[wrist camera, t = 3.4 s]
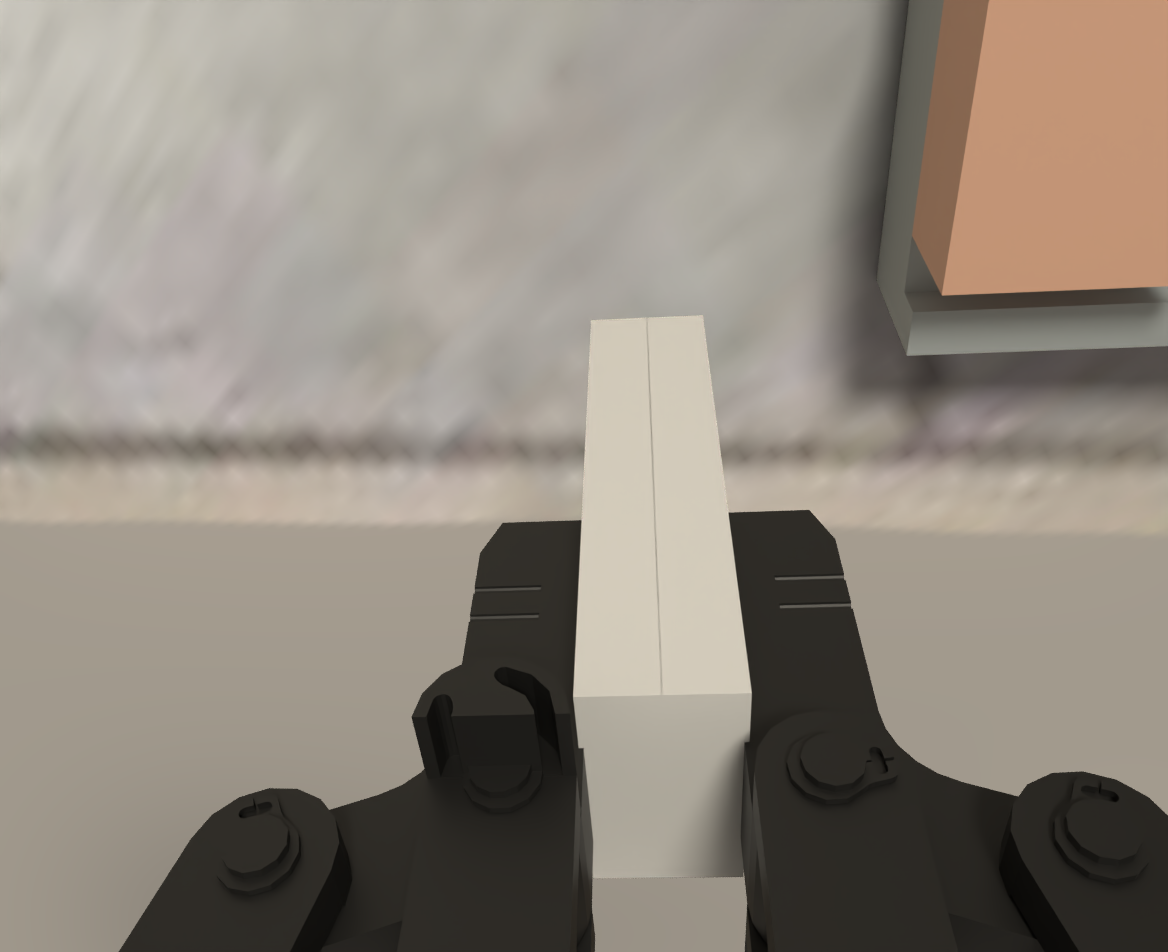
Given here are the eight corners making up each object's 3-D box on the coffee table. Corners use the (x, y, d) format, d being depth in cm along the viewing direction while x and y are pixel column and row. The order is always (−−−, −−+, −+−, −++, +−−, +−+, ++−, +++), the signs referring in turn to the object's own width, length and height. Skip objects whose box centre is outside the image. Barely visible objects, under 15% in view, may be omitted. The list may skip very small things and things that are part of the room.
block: (949, -43, 21) (990, -6, 18) (1260, -62, 20) (1342, -28, 18) (911, 235, 24) (941, 295, 22) (1175, 223, 24) (1234, 283, 22)
